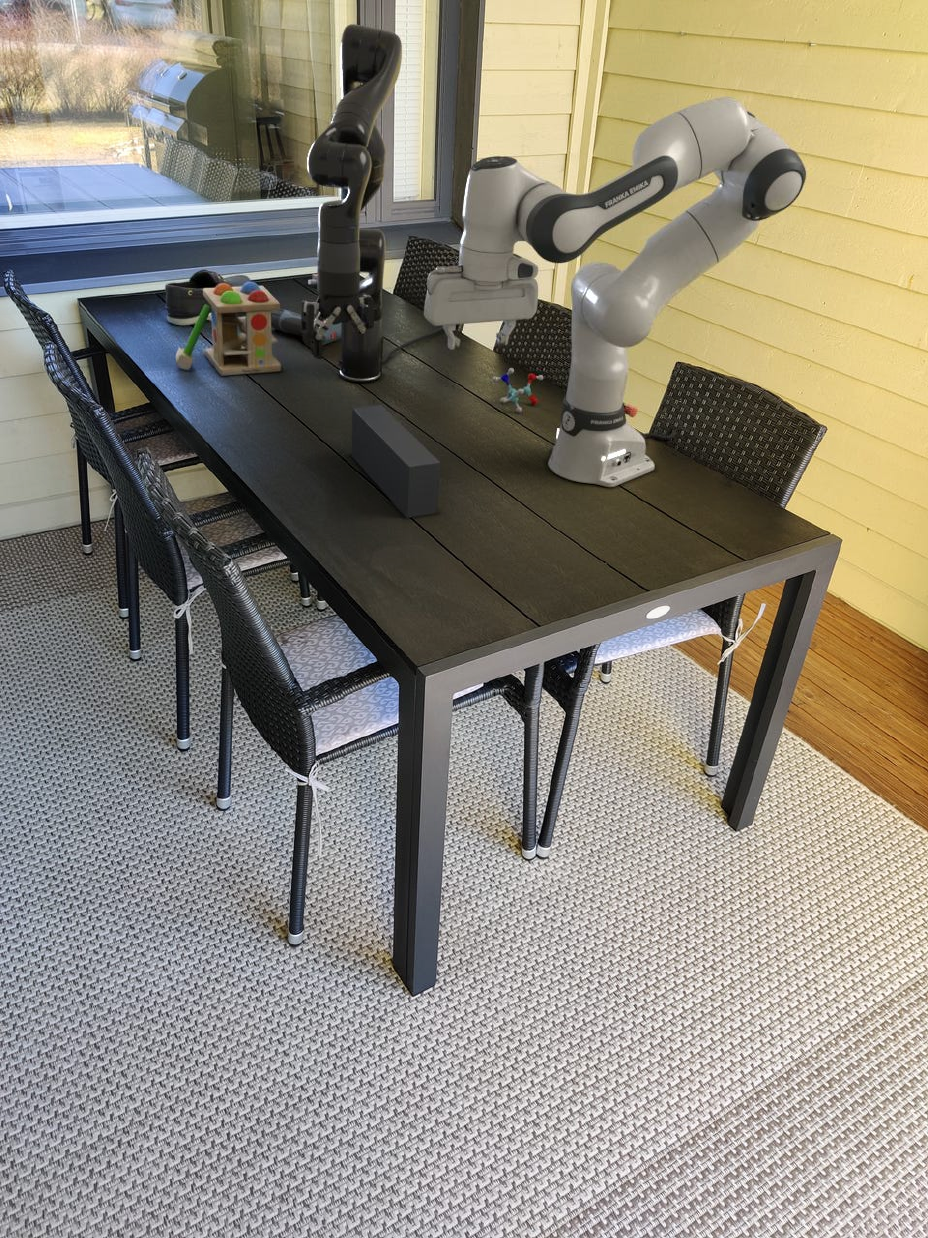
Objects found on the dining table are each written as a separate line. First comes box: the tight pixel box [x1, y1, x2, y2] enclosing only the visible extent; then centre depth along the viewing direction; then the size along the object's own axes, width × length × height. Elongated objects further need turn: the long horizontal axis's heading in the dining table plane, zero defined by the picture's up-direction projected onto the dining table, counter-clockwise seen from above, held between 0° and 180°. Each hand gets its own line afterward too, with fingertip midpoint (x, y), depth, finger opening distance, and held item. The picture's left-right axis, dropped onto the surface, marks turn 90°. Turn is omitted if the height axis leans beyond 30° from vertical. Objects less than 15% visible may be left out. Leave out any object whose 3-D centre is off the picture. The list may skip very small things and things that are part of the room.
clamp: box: [307, 273, 317, 285], centre depth 287 cm, size 15×2×10 cm
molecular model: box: [492, 367, 544, 413], centre depth 223 cm, size 12×10×10 cm
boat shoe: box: [164, 269, 253, 326], centre depth 260 cm, size 13×33×10 cm, turn 147°
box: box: [350, 404, 441, 519], centre depth 184 cm, size 27×6×10 cm, turn 27°
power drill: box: [271, 308, 341, 349], centre depth 252 cm, size 5×19×20 cm
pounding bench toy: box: [174, 281, 282, 377], centre depth 225 cm, size 23×14×18 cm, turn 116°
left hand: (337, 354), depth 183 cm, fingers open, 8 cm apart
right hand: (477, 346), depth 170 cm, fingers open, 8 cm apart
